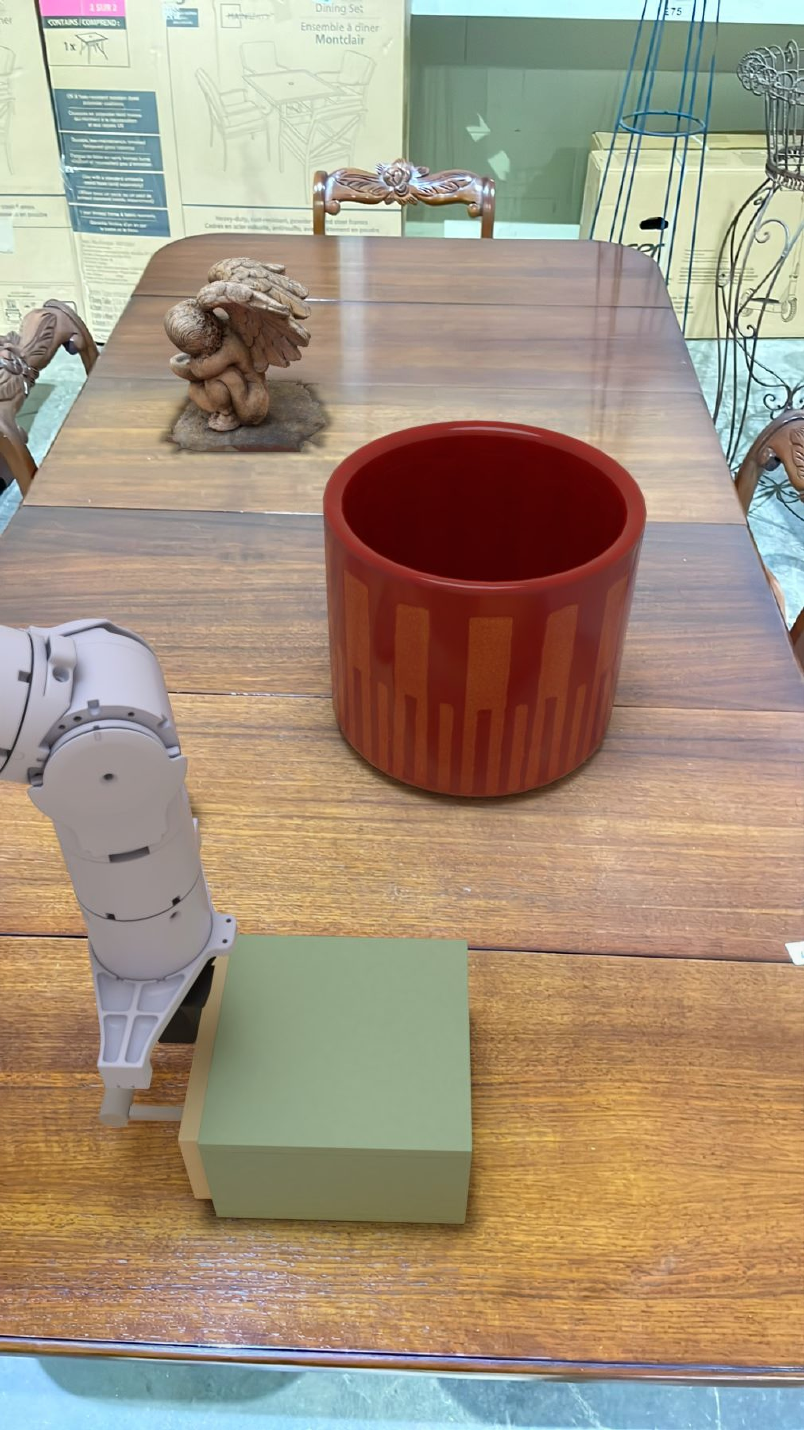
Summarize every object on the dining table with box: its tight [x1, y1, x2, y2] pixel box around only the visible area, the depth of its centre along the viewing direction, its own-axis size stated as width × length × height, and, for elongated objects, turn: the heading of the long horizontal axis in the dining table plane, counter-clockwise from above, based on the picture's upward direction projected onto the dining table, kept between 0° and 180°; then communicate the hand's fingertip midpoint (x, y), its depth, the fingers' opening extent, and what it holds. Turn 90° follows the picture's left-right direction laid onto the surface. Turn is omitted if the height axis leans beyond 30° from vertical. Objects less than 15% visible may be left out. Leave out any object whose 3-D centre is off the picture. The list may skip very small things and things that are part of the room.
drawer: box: [97, 954, 230, 1200], centre depth 61 cm, size 18×11×7 cm, turn 89°
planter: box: [322, 419, 648, 798], centre depth 83 cm, size 23×23×20 cm
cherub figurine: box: [163, 257, 326, 452], centre depth 122 cm, size 18×18×18 cm
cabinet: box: [197, 933, 473, 1225], centre depth 61 cm, size 14×13×9 cm
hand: (178, 1032), depth 58 cm, fingers closed
